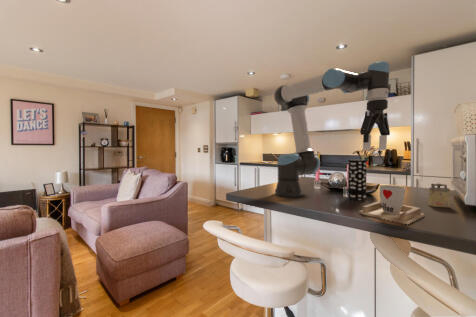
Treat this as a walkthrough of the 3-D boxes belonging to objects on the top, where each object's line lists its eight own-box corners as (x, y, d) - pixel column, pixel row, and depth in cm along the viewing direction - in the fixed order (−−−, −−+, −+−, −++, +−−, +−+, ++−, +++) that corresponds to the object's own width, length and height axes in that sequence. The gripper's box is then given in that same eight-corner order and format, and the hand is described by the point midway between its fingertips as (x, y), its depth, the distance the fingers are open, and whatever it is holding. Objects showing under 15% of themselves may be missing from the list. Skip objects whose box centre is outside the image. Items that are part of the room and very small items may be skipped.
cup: (374, 209, 87) (374, 185, 87) (393, 209, 87) (394, 185, 87) (388, 215, 79) (389, 189, 78) (410, 215, 79) (411, 188, 79)
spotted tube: (368, 200, 106) (369, 160, 105) (350, 199, 108) (351, 160, 107) (362, 196, 114) (363, 159, 113) (345, 196, 116) (346, 159, 115)
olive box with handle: (447, 206, 94) (448, 183, 93) (451, 208, 90) (452, 185, 90) (427, 204, 97) (427, 182, 96) (430, 206, 93) (431, 184, 93)
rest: (359, 213, 85) (359, 206, 85) (378, 206, 94) (378, 200, 94) (407, 225, 72) (407, 216, 72) (424, 216, 81) (424, 208, 81)
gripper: (371, 95, 81) (368, 151, 82) (400, 102, 94) (397, 149, 95) (352, 98, 87) (350, 150, 89) (381, 104, 100) (379, 149, 102)
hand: (374, 150), depth 92 cm, fingers open, 13 cm apart
